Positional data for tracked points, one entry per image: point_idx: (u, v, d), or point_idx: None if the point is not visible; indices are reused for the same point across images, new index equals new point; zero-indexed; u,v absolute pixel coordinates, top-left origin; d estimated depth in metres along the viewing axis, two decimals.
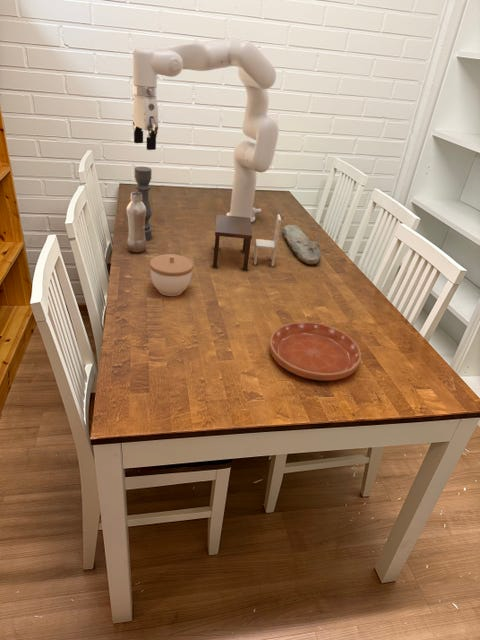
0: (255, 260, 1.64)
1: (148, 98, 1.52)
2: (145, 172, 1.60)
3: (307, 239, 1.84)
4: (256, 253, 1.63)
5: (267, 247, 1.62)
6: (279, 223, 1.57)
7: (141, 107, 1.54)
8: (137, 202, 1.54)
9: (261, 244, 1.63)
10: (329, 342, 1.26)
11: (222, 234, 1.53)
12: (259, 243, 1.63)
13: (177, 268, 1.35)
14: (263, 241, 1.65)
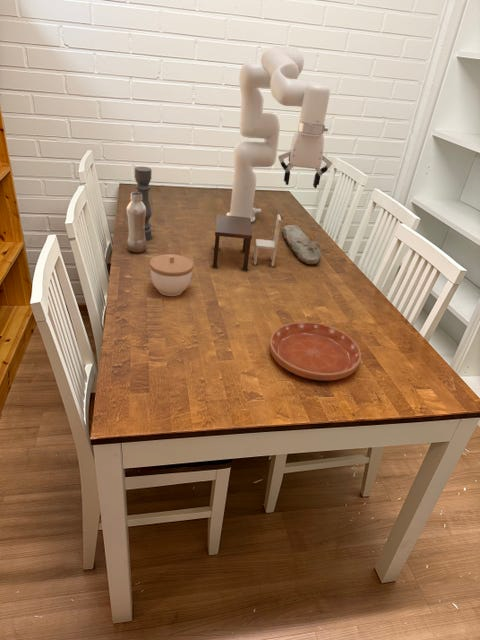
0: (255, 260, 1.64)
1: (323, 135, 1.45)
2: (145, 172, 1.60)
3: (307, 239, 1.84)
4: (256, 253, 1.63)
5: (267, 247, 1.62)
6: (279, 223, 1.57)
7: (316, 146, 1.45)
8: (137, 202, 1.54)
9: (261, 244, 1.63)
10: (329, 342, 1.26)
11: (222, 234, 1.53)
12: (259, 243, 1.63)
13: (177, 268, 1.35)
14: (263, 241, 1.65)
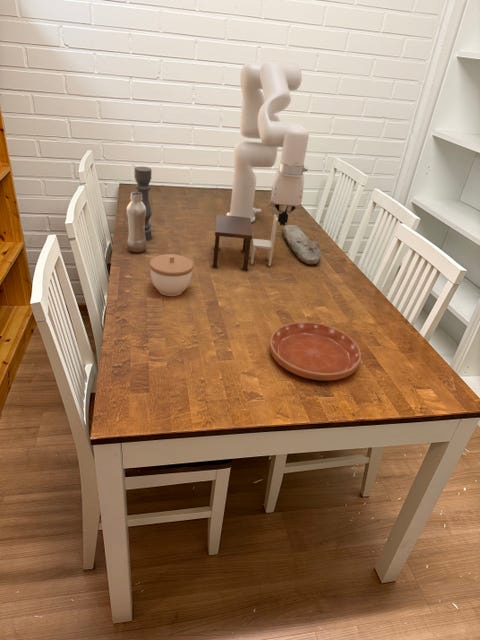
0: (252, 260, 1.64)
1: (302, 175, 1.51)
2: (145, 172, 1.60)
3: (307, 239, 1.84)
4: (253, 253, 1.63)
5: (264, 247, 1.62)
6: (276, 223, 1.57)
7: (296, 185, 1.51)
8: (137, 202, 1.54)
9: (258, 244, 1.62)
10: (329, 342, 1.26)
11: (222, 234, 1.53)
12: (256, 243, 1.63)
13: (177, 268, 1.35)
14: (260, 241, 1.65)
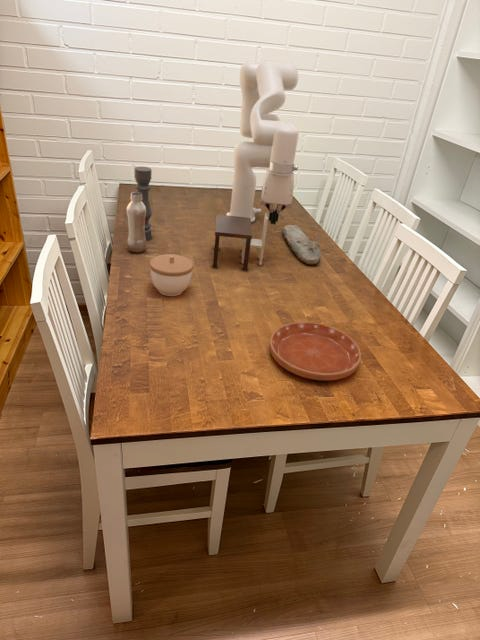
0: (243, 259, 1.64)
1: (293, 174, 1.51)
2: (145, 172, 1.60)
3: (307, 239, 1.84)
4: (244, 252, 1.63)
5: (254, 246, 1.61)
6: (266, 222, 1.57)
7: (286, 184, 1.51)
8: (137, 202, 1.54)
9: None
10: (329, 342, 1.26)
11: (222, 234, 1.53)
12: None
13: (177, 268, 1.35)
14: (251, 240, 1.65)
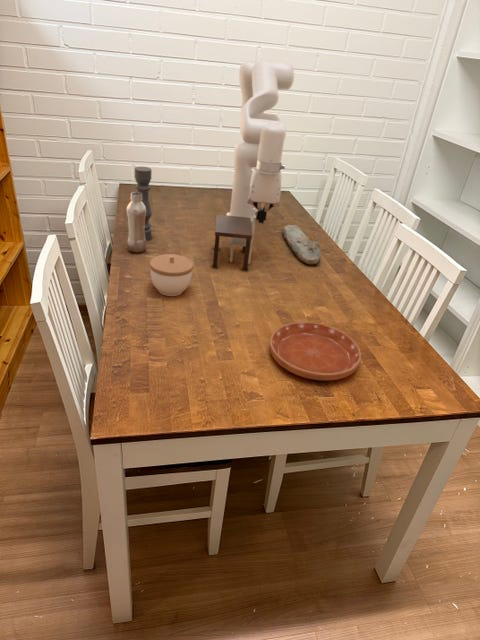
0: (231, 258, 1.64)
1: (280, 173, 1.51)
2: (145, 172, 1.60)
3: (307, 239, 1.84)
4: (232, 251, 1.62)
5: (243, 245, 1.61)
6: (254, 220, 1.57)
7: (274, 183, 1.51)
8: (137, 202, 1.54)
9: (237, 242, 1.62)
10: (329, 342, 1.26)
11: (222, 234, 1.53)
12: (235, 241, 1.63)
13: (177, 268, 1.35)
14: (239, 239, 1.65)
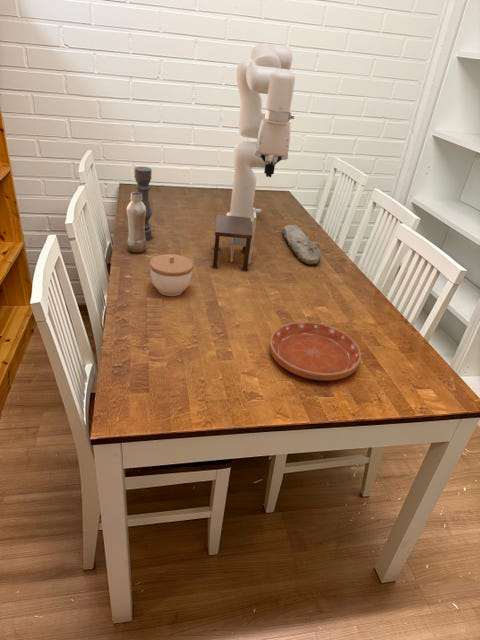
0: (231, 258, 1.64)
1: (289, 123, 1.47)
2: (145, 172, 1.60)
3: (307, 239, 1.84)
4: (232, 251, 1.62)
5: (243, 245, 1.61)
6: (254, 220, 1.57)
7: (282, 133, 1.47)
8: (137, 202, 1.54)
9: (237, 242, 1.62)
10: (329, 342, 1.26)
11: (222, 234, 1.53)
12: (235, 241, 1.63)
13: (177, 268, 1.35)
14: (239, 239, 1.65)
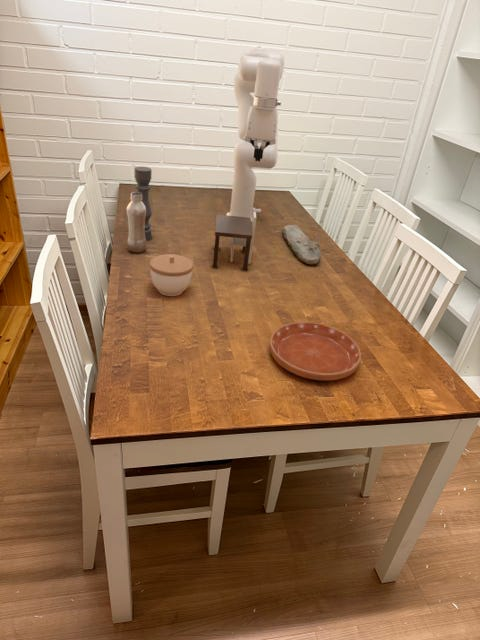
0: (231, 258, 1.64)
1: (276, 109, 1.55)
2: (145, 172, 1.60)
3: (307, 239, 1.84)
4: (232, 251, 1.62)
5: (243, 245, 1.61)
6: (254, 220, 1.57)
7: (270, 119, 1.55)
8: (137, 202, 1.54)
9: (237, 242, 1.62)
10: (329, 342, 1.26)
11: (222, 234, 1.53)
12: (235, 241, 1.63)
13: (177, 268, 1.35)
14: (239, 239, 1.65)
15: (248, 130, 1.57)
